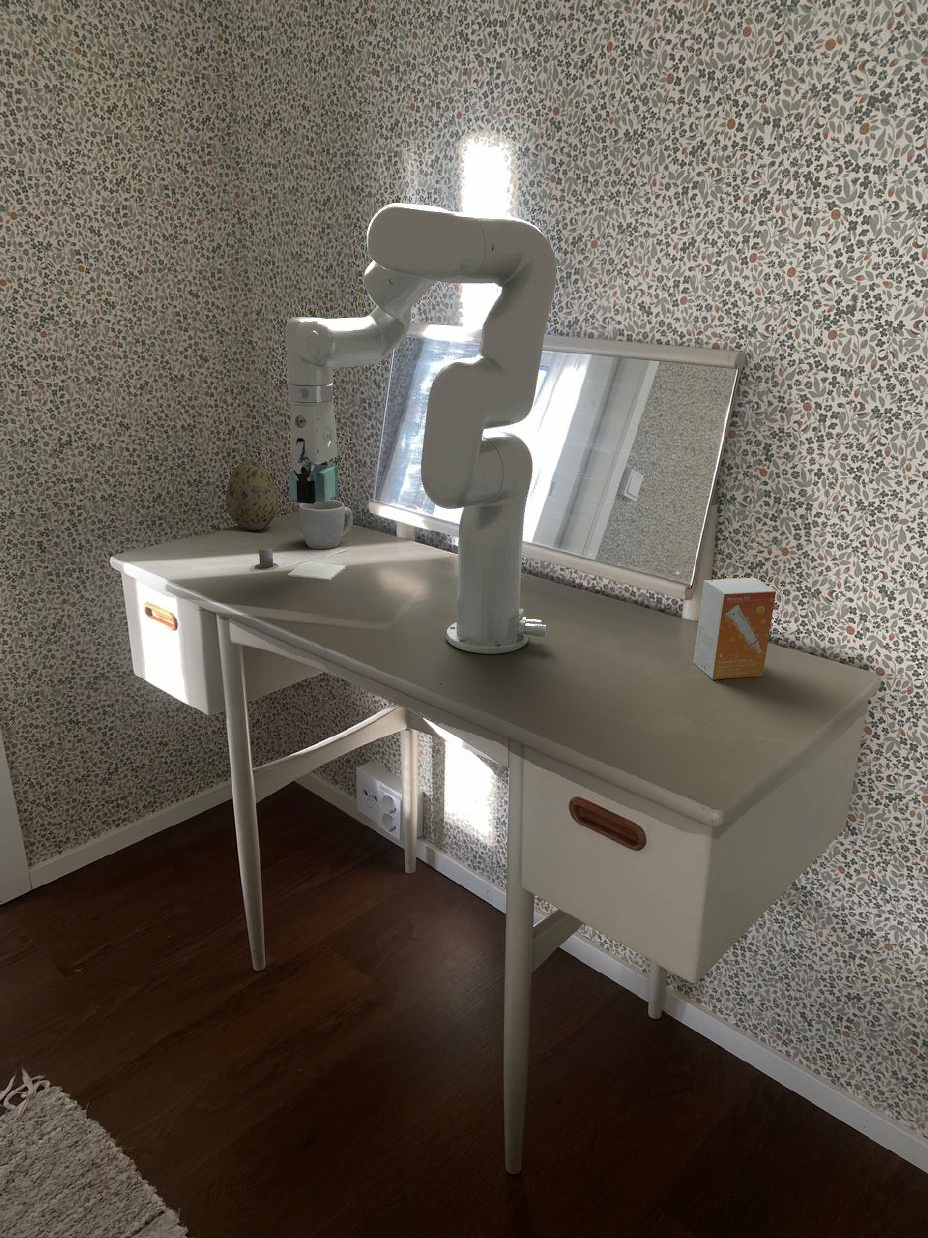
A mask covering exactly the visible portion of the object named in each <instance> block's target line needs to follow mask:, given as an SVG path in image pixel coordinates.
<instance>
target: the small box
mask: <svg viewBox="0 0 928 1238" xmlns="http://www.w3.org/2000/svg"><path fill="white" fill-rule="evenodd" d="M702 582H703V584H702V592H701V598H700V599H701V601H700V606H699V607H700V608H699V615H698V616H699V617H698V623H697V631H696V640H695V649H694V655H693V664H694V665H695V666H696V667H697V668H698V669H700V670H701V671H702V672H703V673H704V674H706V676H708V677H709V678H710V679H711V680H714V681H715V680H722V679H735V678H736V679H737V678H750V677H763V675H764V670H765V662H766V659H767V653H768V645H769V638H770V632H771V625H772V618H773V612H774V607H775V601H776V594H777V590H775V589H774V588H772V587H770V586H768V585H767V584H766V583H763V582H762V581H760V580H759V579H758V578H755V577H747V578H742V577H741V578H740V577H739V578H736V577H735V578H734V577H733V578H720V579H708V580H707V579H704V580H703V581H702Z"/></svg>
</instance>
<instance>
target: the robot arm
mask: <svg viewBox="0 0 928 1238" xmlns="http://www.w3.org/2000/svg"><path fill="white" fill-rule="evenodd" d="M366 246H367V252H368V253H369V255H370V257H371V259H372V260H373V261H372V262H371V263H370V264H369V265H368V267H366V269H365V272H364V275H363V284H364V287H365V291H366V293H367V295H368V297H369V298H370V300H371V302H373V303H374V304H375V306H376V307H375V308H374V309H373V310H372V311H371V312H370V313H368V315H367V316H365V317H349V318H348V317H347V318H345V317H343V318H341V317H339V318H322V317H311V316H310V317H307V316H306V317H301V316H300V317H292V318H290V319H288V321H287V322H286V325H285V343H286V344H285V345H286V368H287V393H288V404H289V405H291V409H290V427H289V430H290V431H289V432H290V433H289V435H290V439H289V440H290V444H289V445H290V454H291V455H290V456H291V462H290V464H291V467H292V469H294V473H295V479H296V485H297V500H296V501H297V503H299V504H301V503H308V504H314V503H315V502H316V499H315V480H312V479H313V472H314V464H315V465H328V466H332V463H331V462H332V460H333V459H334V458H336V456H337V454H338V440H337V426H336V425H337V424H336V415H335V410H334V409H335V408H334V401H335V400H334V372H333V371H334V369H338V368H339V369H340V368H341V369H342V368H346V367H347V368H348V367H349V368H350V367H359V366H360V367H362V366H363V367H364V366H371V365H375V364H377V363H379V362H381V361H383V360H384V359H386V358H387V357H388V356H389V355H390V354H391V353H392V352H393V351H394V350H395V349H396V348H397V347H398V346H399V345H400V344H401V342H403V340H404V339H405V338H406V336H407V334H408V332H409V329H410V325H411V322H412V321H411V320H412V308H413V307H414V305H415V304H416V303H417V302H419V301H420V299H421V298H422V297H423V296H424V295H425V294H426V293H427V292H428V291H429V290H430V289H431V288H432V287H433V285H435V284H436V283H437V282H440V283H446V284H460V285H461V284H482V285H483V284H495V285H497V287H498V292H497V293H496V294H495V296H494V297H493V299H492V301H491V302H490V304H489V306H488V308H487V310H486V313H485V315H484V319H483V322H482V329H481V335H480V337H481V338H480V343H479V347H478V352H477V355H476V356H475V357H468V358H461V359H460V358H459V359H456V360H452V361H451V362H449V363H447V364H446V365H444V366H443V367H442V368H441V369H440V370H439V371H438V373H437V374H436V375H435V377H434V379H433V380H432V381H433V382H432V384H431V386H430V389H429V393H428V400H427V407H426V415H425V424H424V432H423V442H422V451H421V459H420V461H421V462H420V474H421V475H420V477H421V482H422V483H421V484H422V487H423V490H424V492H425V494H426V496H427V498H428V499H429V500H430V501H431V502H432V503H433V504H434V505H436V506H437V507H440V508H441V509H445V510H457V509H461V508H463V509H462V511H461V516H460V521H459V524H458V525H459V526H458V541H457V542H458V544H457V583H456V584H457V587H456V591H457V592H456V593H457V594H456V621H455V622H454V623H452V624H450V625H449V627H447V628H446V640H447V642H448V643H449V644H450V645H451V646H453V647H455V648H457V649H460V650H462V651H466V652H470V653H475V654H476V653H477V654H487V655H488V654H490V655H491V654H493V655H494V654H495V655H496V654H505V653H509V652H513V651H517V650H520V649H521V648H523V647H524V646H525V645H527V643H528V641H529V636H532V637H539V638H546V636H547V632H548V629H547V628H548V625H547V624H542V619H533V618H532V619H531V618H530V619H529V618H528V617H527V616H524V614H525V611H524V610H525V609H524V608H521V607H520V602H521V601H520V600H521V598H520V597H521V581H522V580H521V579H522V578H521V577H522V559H523V557H522V556H523V555H522V554H523V539H524V524H525V523H524V522H525V514H526V513H525V512H526V508H527V507H526V505H527V501H528V497H529V492H530V487H531V484H532V478H533V470H534V469H533V468H534V467H533V466H534V465H533V464H534V463H533V458H532V454H531V451H530V449H529V447H528V445H527V444H526V443H525V442H524V441H523V440H522V439H521V438H520V437H519V436H517V435H516V434H513V433H510V432H506V431H488V432H484V431H485V430H491V429H494V428H500V427H508V426H511V425H514V424H517V423H521V422H522V421H523V420H525V419H526V418H527V417H528V416H529V414H530V413H531V411H532V408H533V404H534V401H535V395H536V389H537V386H538V384H537V383H538V379H539V378H538V377H539V373H540V366H541V360H542V355H543V349H544V341H545V333H546V328H547V325H548V319H549V315H550V310H551V307H552V303H553V299H554V294H555V291H556V285H557V284H556V283H557V261H556V257H555V253H554V250H553V248H552V245H551V243H550V242H549V240H548V238H547V237H546V235H545V234H544V233H543V232H542V231H541V230H540V229H539V228H538V227H536V226H535V225H533V224H532V223H530V222H528V221H526V220H523V219H520V218H516V217H512V216H507V215H498V214H479V213H470V212H469V213H468V212H457V211H456V212H455V211H448V210H447V209H444V208H442V207H438V206H431V205H419V204H408V203H391V204H387V205H386V206H384V207H382V208H381V209H380V210H378V212H377V213H376V214H375V215H374V216H373V218H372V219H371V221H370V223H369V225H368V229H367V233H366ZM307 460H308V461H307ZM303 466H307V467H308V472H307V470H306V468H305V467H303Z"/></svg>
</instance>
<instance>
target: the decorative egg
mask: <svg viewBox="0 0 928 1238" xmlns="http://www.w3.org/2000/svg"><path fill="white" fill-rule="evenodd" d="M225 504H226V509H227V512H228V515H229V517H230V518H231V520H232V521H233V522H234V523H235V524H237V526H239V527H240V528H242V529H244V530H247V531H254V532H255V531H260V530H263V529H264V528H266V527H268V525H270V524H271V523H272V522H273V520H274V518H275V516H276V515H277V511H278V508H279V507H278V506H279V497H278V491H277V489H276V485H275V483H274V481H273V478H272V477H271V476H270V474H269V472H268V471H267V470H266V468H265V467H263V466H262V465H261V464H260V463H259V462H257V461H255V460H253V459H248V460H247V459H246V460H243V461H242V462H240V463H239V464H238V465H237V466H236V467H235V468H234V470H233V472H232V474H231V475H230V477H229V480H228V482H227V486H226V492H225Z"/></svg>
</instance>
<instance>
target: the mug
mask: <svg viewBox="0 0 928 1238" xmlns="http://www.w3.org/2000/svg"><path fill="white" fill-rule="evenodd" d="M298 511H299V513H298V514H299V523H300V528H301V533H302V537H303V539H304V541H305V544H306V546H307V547H309V548H311V549H315V550H317V549H318V550H329V549H335V548H337V547H338V546H339V545H340V543H341V540H342V539H343V538H344V537H346V536H348V535H349V533H350V531H351V529H352V525H353V522H354V517H353V511H352V509H351V508H350V507H348V506H345V503H344V502H342V501H340V500H335V499H329V500H327V501H326V502H317V501H316V502H315V503H314V504H308V503H299V507H298Z"/></svg>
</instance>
